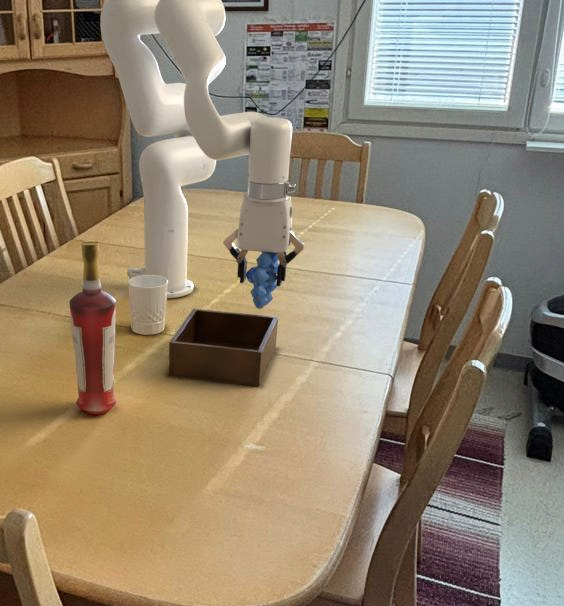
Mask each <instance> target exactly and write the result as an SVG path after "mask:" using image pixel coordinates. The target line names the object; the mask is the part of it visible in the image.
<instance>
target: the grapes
mask: <svg viewBox="0 0 564 606" xmlns="http://www.w3.org/2000/svg"><path fill="white" fill-rule="evenodd" d="M255 261H256V263H257V265H256V266H252V267H251V268H249V269H247V273H246V280H247V281H248V282H249V283H250V284H252V285H253V287H252V289H251V290H250V295H251V297H252V302H253V305H254V307H255V309H258V310H261V309H263V308H264V307H265V306H267V305H269V304H270V303H271V302H272V300H273V299H274V297H273V295H272V293H273V292H274V291H275V290H276V289H277V287H278V286H277V285H276V282H277V269H278V266H279V259H278V256H277V254H276V253H272V252H261V253H260V254H259V256H258V257H257V258H256V259H255Z"/></svg>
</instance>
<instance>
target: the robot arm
mask: <svg viewBox="0 0 564 606" xmlns="http://www.w3.org/2000/svg"><path fill="white" fill-rule="evenodd" d="M225 22H226V9H225V5H224V3H223V1H222V0H104V2H103V4H102V7H101V12H100V33H101V38H102V42H103V45H104V48H105V51H106V52H107V55H108V57H109V59H110V61H111V63H112V65H113V67H114V69H115V72H116V75H117V77H118V81H119V85H120V88H121V91H122V94H123V97H124V101H125V103H126V107H127V111H128V115H129V117H130V119H131V123H132V125H133V127H134V129H135V131H136V133H137V134H138V135H140V136H142V137H145V138H146V137H147V138H151V137H159V136H165V135H169V134H173V136H174V137H173V138H167V139H162V140H158V141H155V142H153V143H151V144H149V145H147V146H146V147H145V148H144V149H143V150H142V152H141V154H140V157H139V161H138V170H139V176H140V182H141V185H142V187H141V188H142V195H143V220H144V221H143V222H144V229H143V230H144V231H143V233H144V240H143V241H144V267H141V268H136V267H128V268H127V270H126V271H127V272H126V275H127V277H128V280H129V279H130V278H132V277H135V276H140V275H157V276H161V277H164V278H166V279H167V281H168V284H167V299H175V298H180V297H185V296H187V295H189V294H191V293H192V292H193V291H194V284H193V282H192V281H191V280H190V279H188V278H187V277H188V276H187V275H188V241H189V240H188V239H189V238H188V235H189V234H188V233H189V232H188V231H189V209H188V203H187V201H186V198H185V197H184V194H183V193H182V189H181V187H185V186H187V185H193V184H197V183H201V182H205V181H206V180H207V179H209V178H210V177H211V176H212V175H213V174H214V172H215V170H216V165H217V161H224V160H230V159H233V158H238V157H245V156H248V170H247V189H246V194H244V196H243V198H242V202H241V207H240V212H239V217H238V227H237V228H236V229H235V230H234V231H233V232H231V234H229V235H228V236H226V237H225V238H224V240H223V242H222V244H223V246H225V248H226V249H227V250H228V251H229V253H230V254H231V256H232V258H234V259H235V261H236V263H237V275H236V277H237V278H239V284H244V283H245V281H246V280H247V277H246V273H247V272H248V260H247V257H246V256H247V254H248V253H249V252H259V253H262V252H272V253H276V254H277V256H278V259H279V260H278V264H279V266H278V269H277V274H276V275H277V280H276V285H277V287H281V285H282V283H283V282H285V281H286V277H287V266H288V264H289V263H290V262H292V261H293V260H294V259H295V258H296V257H298V255H299V254H300V253H301V252H302V251H304V249H305V244H304V242H303V241H302V240H301V239H300V238H299V237H298V236H297V235H296V234H295V233H294V232H293V204H292V197H291V196H290V195H289V194H291V193H295V192H296V184H292V183H291V182H290V180H289V173H290V161H291V151H292V150H291V149H292V136H293V126H292V122H291V121H289V119H286V118H284V117H274V116H273V117H270V116H267V115H264V114H263V113H260V112H257V111H244V112H236V113H230V114H224V115H220V113H219V112H218V110H217V109H216V107H215V104H214V103H213V101H212V99H211V96H210V92H209V85H210V84H211V83H212V82H214V80H215V79H216V78H217V77H218V76H220V74H221V73H222V71H223V69H224V68H225V65H226V55H225V53H224V51H223V49H222V47H221V46H220V44H219V41H218V40H217V38H216V37H217V36H218V35H219V34H220V33H221V31H222V30H223V28H224V27H225ZM156 34H157V35H158V34H160V36H161V38H162V39H163V42H164V44H165V45H166V47H167V49H168V51H169V53H170V55H171V57H172V58H173V60H174V62H175V64H176V66H177V68H178V69H179V71H180V73H181V75H182V77H183V79H184V81H185V83H184V82H172V83H166V82H165V81H164V79H163V77H162V74H161V71H160V67H159V64H158V61H157V59H156V56H155V55H154V53H153V52H152V51H151V49H150V48H149V46H148V45H146V44H145V43H144V41H142V39H141V36H142V35H143V36H144V35H156ZM235 240H236V245H235V243H234V241H235ZM291 244H292V245H293V246H294V248H293V249H292V250H291V251H290V252H289V253H287V251H288V247H289V246H291Z"/></svg>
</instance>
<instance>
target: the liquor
mask: <svg viewBox="0 0 564 606" xmlns="http://www.w3.org/2000/svg"><path fill="white" fill-rule="evenodd" d="M80 246H81V256H82V261H83V274H82V291H80V292H78V293H76V294H75V295H74V296H72V298H71V299H69V301H68V302H69V303H68V304H69V313H70V324H71V334H72V342H73V351H74V360H75V369H76V381H77V394H78V397H77V399H76V401H75V404H76V406H77V407H78V408H79V409H80V410H82V411H83V412H84V413H86V414H88V415H92V416H101V415H104V414H107V413H108V412H110V410H112V409H113V408H114V407H115V406H116V405H117V402H118V400H117V398H116V397H115V347H116V346H115V345H116V343H115V342H116V305H117V304H116V302H117V301H116V298H115V297H113V295H111V294H109V293H108V292H107V291H103V290H102V285H101V276H100V269H99V259H100V242H99V241H98V240H92V239H88V240H84V241H81V245H80Z"/></svg>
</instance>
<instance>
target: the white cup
mask: <svg viewBox="0 0 564 606" xmlns="http://www.w3.org/2000/svg"><path fill="white" fill-rule="evenodd" d="M167 284H168V281H167V279H166V278H164V277H161V276H157V275H140V276H135V277H132V278H130V279H129V278H128V280H127V289H128V305H129V316H130V325H131V326H130V327H131V328H130V329H131V331H132V332H133V333H136V334H138V335H143V336H153V335H157V334H160V333H162V332H163V331H164V330H165V326H166V315H167V313H166V312H167V303H168V302H167V301H168V298H167Z"/></svg>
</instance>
